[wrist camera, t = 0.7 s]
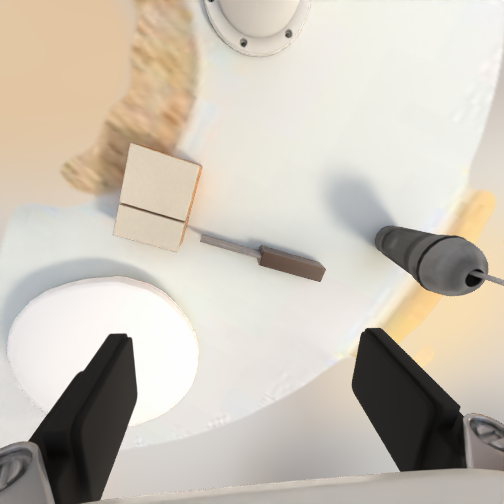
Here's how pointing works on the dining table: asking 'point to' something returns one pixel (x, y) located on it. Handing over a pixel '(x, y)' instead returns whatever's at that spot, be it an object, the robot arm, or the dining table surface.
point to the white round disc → (94, 334)
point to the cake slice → (149, 227)
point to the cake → (159, 182)
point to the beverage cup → (436, 260)
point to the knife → (274, 259)
